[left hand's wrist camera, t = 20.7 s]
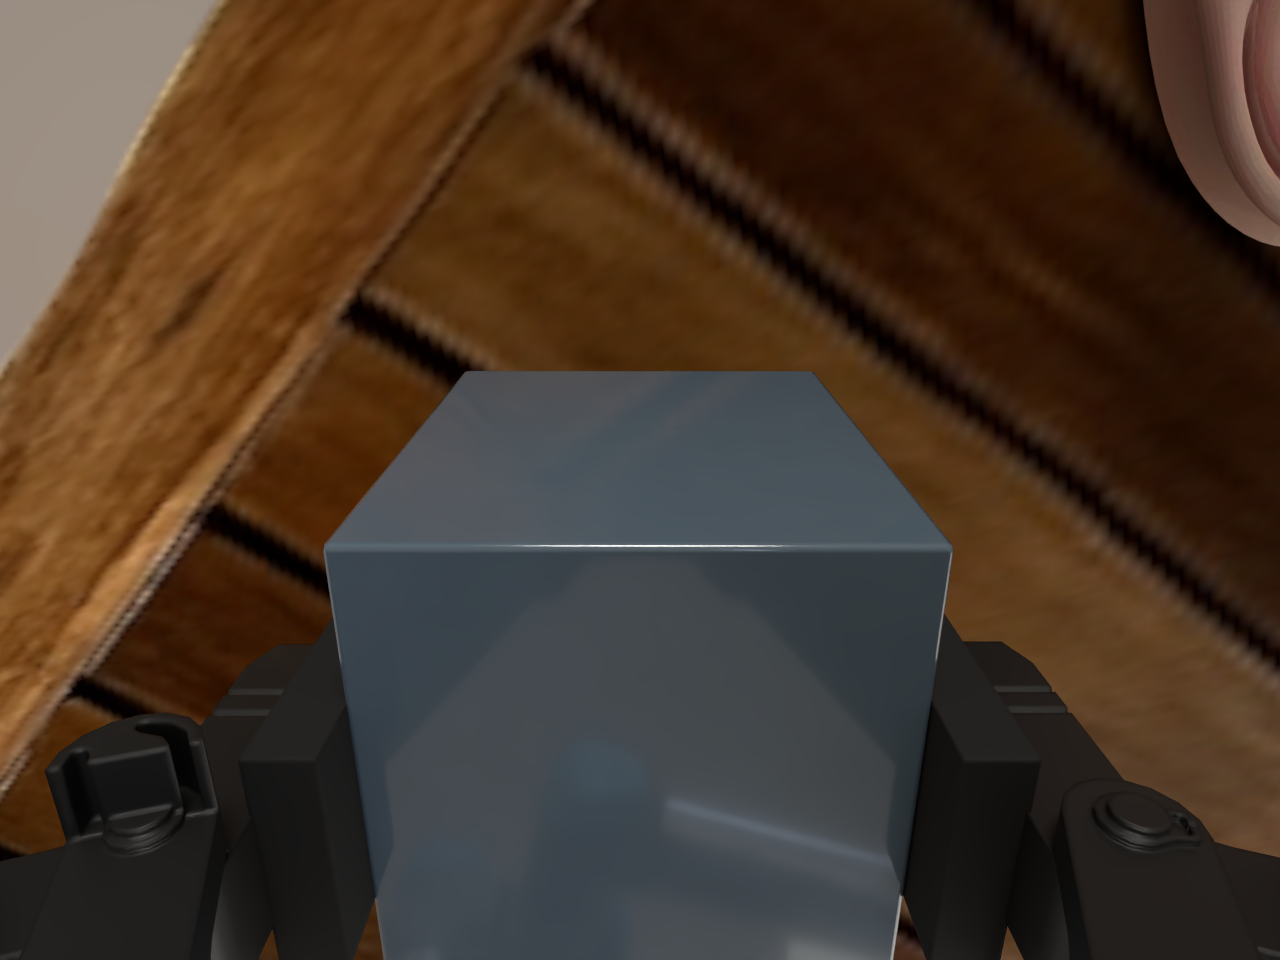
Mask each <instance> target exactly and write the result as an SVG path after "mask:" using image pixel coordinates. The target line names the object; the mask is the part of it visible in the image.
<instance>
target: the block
mask: <svg viewBox="0 0 1280 960" xmlns="http://www.w3.org/2000/svg"><path fill="white" fill-rule="evenodd" d="M323 552H324V559H325V565H326V572H327V579H328V586H329V592H330V599H331V606H332V613H333V619H334V626H335V633H336V640H337V646H338V653H339V660H340V667H341V673H342V680H343V687H344V694H345V700H346V706H347V713H348V719H349V726H350V733H351V740H352V746H353V753H354V760H355V766H356V773H357V780H358V787H359V793H360V800H361V807H362V814H363V820H364V827H365V834H366V841H367V847H368V854H369V861H370V868H371V874H372V881H373V888H374V894H375V903H376V910H377V917H378V923H379V930H380V937H381V944H382V950H383V957H384V960H893V957H894V950H895V943H896V936H897V930H898V923H899V916H900V909H901V902H902V896H903V889H904V882H905V875H906V869H907V862H908V855H909V848H910V842H911V835H912V828H913V821H914V814H915V808H916V801H917V794H918V787H919V781H920V774H921V767H922V760H923V753H924V747H925V740H926V733H927V726H928V720H929V713H930V706H931V699H932V693H933V686H934V679H935V672H936V665H937V659H938V652H939V645H940V638H941V632H942V625H943V618H944V611H945V604H946V598H947V591H948V584H949V577H950V571H951V564H952V557H953V546H952V544H951V543H950V541H949V540H948V539H947V538H946V536H945V535H944V534H943V533H942V531H941V530H940V529H939V528H938V527H937V525H936V524H935V523H934V522H933V520H932V519H931V518H930V517H929V515H928V514H927V513H926V512H925V510H924V509H923V508H922V507H921V505H920V504H919V503H918V502H917V500H916V499H915V498H914V497H913V495H912V494H911V493H910V492H909V490H908V489H907V488H906V487H905V486H904V484H903V483H902V482H901V481H900V479H899V478H898V477H897V476H896V474H895V473H894V472H893V471H892V469H891V468H890V467H889V466H888V464H887V463H886V462H885V461H884V459H883V458H882V457H881V456H880V454H879V453H878V452H877V451H876V449H875V448H874V447H873V446H872V445H871V443H870V442H869V441H868V440H867V438H866V437H865V436H864V435H863V433H862V432H861V431H860V430H859V428H858V427H857V426H856V425H855V423H854V422H853V421H852V420H851V418H850V417H849V416H848V415H847V413H846V412H845V411H844V410H843V409H842V407H841V406H840V405H839V404H838V402H837V401H836V400H835V399H834V397H833V396H832V395H831V394H830V392H829V391H828V390H827V389H826V387H825V386H824V385H823V384H822V382H821V381H820V380H819V379H818V377H817V376H816V375H815V374H814V373H813V372H811V371H467V372H465V373H464V374H463V375H462V377H461V378H460V379H459V380H458V382H457V383H456V384H455V385H454V386H453V388H452V389H451V390H450V391H449V393H448V394H447V395H446V396H445V397H444V399H443V400H442V401H441V402H440V404H439V405H438V406H437V407H436V408H435V410H434V411H433V412H432V413H431V415H430V416H429V417H428V418H427V419H426V421H425V422H424V423H423V424H422V426H421V427H420V428H419V429H418V431H417V432H416V433H415V434H414V435H413V437H412V438H411V439H410V440H409V442H408V443H407V444H406V445H405V446H404V448H403V449H402V450H401V451H400V453H399V454H398V455H397V456H396V457H395V459H394V460H393V461H392V462H391V464H390V465H389V466H388V467H387V468H386V470H385V471H384V472H383V473H382V475H381V476H380V477H379V478H378V479H377V481H376V482H375V483H374V484H373V486H372V487H371V488H370V489H369V490H368V492H367V493H366V494H365V495H364V497H363V498H362V499H361V500H360V502H359V503H358V504H357V505H356V506H355V508H354V509H353V510H352V511H351V513H350V514H349V515H348V516H347V517H346V519H345V520H344V521H343V522H342V524H341V525H340V526H339V527H338V528H337V530H336V531H335V532H334V533H333V535H332V536H331V537H330V538H329V539H328V541H327V542H326V543H325V545H324V548H323Z"/></svg>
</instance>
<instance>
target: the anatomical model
mask: <svg viewBox="0 0 1280 960" xmlns="http://www.w3.org/2000/svg"><path fill="white" fill-rule="evenodd" d="M1143 5H1144V14H1145V21H1146V29H1147V37H1148V45H1149V52H1150V58H1151V64H1152V69H1153V75H1154V80H1155V86H1156V90H1157V94H1158V98H1159V101H1160V105H1161V109H1162V113H1163V117H1164V120H1165V124H1166V127H1167V129H1168V132H1169V135H1170V137H1171V140H1172V142H1173V145H1174V148H1175V150H1176V153H1177V155H1178V158H1179V160H1180V161H1181V163H1182V165H1183V167H1184V169H1185V170H1186V172H1187V174H1188V176H1189V177H1190V179H1191V181H1192V183H1193V184H1194V185H1195V187H1196V188H1197V190H1198V191H1199V192H1200V194H1201V195H1202V197H1203V198H1204V199H1205V200H1206V201H1207V202H1208V204H1209V205H1210V206H1211V207H1212V208H1213V209H1214V210H1215V211H1216V212H1217V213H1218V214H1219V215H1220V216H1221V217H1222V218H1223V219H1224V220H1225V221H1226V222H1228V223H1229V224H1230V225H1232V226H1233V227H1235V228H1236V229H1238V230H1239V231H1240V232H1242V233H1243V234H1245V235H1247V236H1249V237H1251V238H1254V239H1256V240H1258V241H1260V242H1263V243H1266V244H1270V245H1274V246H1279V247H1280V0H1143Z"/></svg>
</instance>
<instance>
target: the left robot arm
mask: <svg viewBox="0 0 1280 960" xmlns="http://www.w3.org/2000/svg"><path fill="white" fill-rule="evenodd" d="M228 691H229V692H228V695H224V696H223V698H222V699H221V700H220V702H219V703H218V704H217V706H216V707H215V708H214V709H213V714H212V716H208V717H207V718H206V720H205V721H204V722H203V724H202V725H201V726H200V725H198V724H197V723H196V722H195V721H193V720H192V719H191V718H190V717H186V716H182V715H177V714H172V713H157V714H143V715H138V716H134V717H130V718H126V719H123V720H119V721H115V722H111V723H109V724H107V725H105V726H103V727H100V728H98V729H96V730H94V731H92V732H89V733H87V734H85V735H83V736H81V737H80V738H79V739H77V740H76V741H74V742H73V743H72V744H70V745H69V746H67V747H66V748H65V749H63V750H62V751H60V752H59V753H58V755H57V756H56V757H55V758H54V760H53V761H52V762H51V763H50V765H49V766H48V767H47V768H46V770H45V773H46V777H47V780H48V783H49V786H50V789H51V793H52V796H53V799H54V802H55V806H56V809H57V812H58V815H59V818H60V822H61V825H62V828H63V831H64V835H65V838H66V844H65V846H62V847H58V848H55V849H52V850H48V851H44V852H39V853H35V854H31V855H26V856H22V857H17V858H13V859H8V860H4V861H0V960H258V958H259V956H260V954H261V952H262V949H263V947H264V945H265V943H266V941H267V939H268V937H269V935H270V933H271V931H272V928H273V933H274V937H275V942H276V947H277V952H278V956H279V960H353V959H354V956H355V953H356V950H357V947H358V945H359V942H360V939H361V936H362V933H363V931H364V928H365V925H366V922H367V919H368V917H369V914H370V911H371V908H372V905H373V903H374V900H375V894H374V888H373V881H372V874H371V868H370V861H369V854H368V847H367V841H366V834H365V827H364V820H363V814H362V807H361V800H360V793H359V787H358V780H357V773H356V766H355V760H354V753H353V746H352V740H351V733H350V726H349V719H348V713H347V706H346V700H345V694H344V687H343V680H342V673H341V667H340V660H339V653H338V646H337V640H336V633H335V626H334V619H333V618H332V619H331V621H330V622H329V624H328V625H327V627H326V628H325V630H324V631H323V633H322V634H321V636H320V637H319V639H318V640H317V642H316V643H315V644H279V645H277V646H276V647H274V648H273V649H271V650H270V651H268V652H267V653H265V654H264V655H262V656H261V657H259V658H258V659H256V660H255V661H253V662H252V663H250V664H249V665H247V667H246V668H245V669H244V671H243V672H242V673H241V674H240V676H239V677H238V678H237V680H236V681H235V682H234V684H233V685H232V686H231V687H230V689H229V690H228ZM903 896H904V898H905V901H906V904H907V907H908V910H909V912H910V915H911V918H912V921H913V924H914V926H915V929H916V932H917V935H918V938H919V940H920V943H921V946H922V949H923V952H924V954H925V957H926V960H1000V959H1001V954H1002V949H1003V944H1004V939H1005V935H1006V930H1007V925H1008V928H1009V930H1010V932H1011V934H1012V936H1013V938H1014V940H1015V942H1016V944H1017V946H1018V948H1019V951H1020V953H1021V955H1022V957H1023V959H1024V960H1280V858H1279V857H1274V856H1270V855H1265V854H1261V853H1256V852H1252V851H1248V850H1243V849H1239V848H1234V847H1230V846H1227V845H1223V844H1220V843H1217V842H1214V840H1213V838H1212V837H1211V835H1210V834H1209V832H1208V831H1207V829H1206V828H1205V827H1204V825H1203V824H1202V822H1201V821H1200V820H1199V819H1198V818H1197V817H1196V816H1194V815H1193V814H1192V813H1191V812H1189V811H1188V810H1187V809H1186V808H1184V807H1183V806H1182V805H1181V804H1180V803H1178V802H1177V801H1175V800H1173V799H1171V798H1169V797H1167V796H1165V795H1163V794H1161V793H1159V792H1157V791H1155V790H1153V789H1151V788H1148V787H1145V786H1142V785H1138V784H1135V783H1132V782H1128V781H1125V780H1123V778H1122V777H1121V776H1120V775H1119V773H1118V772H1117V771H1116V769H1115V768H1114V767H1113V766H1112V764H1111V763H1110V762H1109V760H1108V759H1107V758H1106V757H1105V755H1104V754H1103V753H1102V751H1101V750H1100V749H1099V748H1098V746H1097V745H1096V744H1095V742H1094V741H1093V740H1092V739H1091V737H1090V736H1089V735H1088V733H1087V732H1086V731H1085V730H1084V728H1083V727H1082V726H1081V724H1080V723H1079V722H1078V721H1077V719H1076V718H1075V717H1074V715H1073V714H1072V713H1068V711H1067V706H1066V705H1065V704H1064V703H1063V701H1062V700H1061V699H1060V697H1059V696H1058V695H1057V694H1056V692H1052V687H1051V686H1050V685H1049V683H1048V682H1047V681H1046V679H1045V678H1044V677H1043V676H1042V674H1041V673H1040V672H1039V670H1038V669H1037V668H1036V667H1035V665H1034V664H1033V663H1032V662H1031V661H1029V660H1028V659H1026V658H1025V657H1023V656H1022V655H1020V654H1019V653H1017V652H1016V651H1014V650H1013V649H1011V648H1010V647H1008V646H1007V645H1005V644H1004V643H1002V642H963V641H962V640H961V638H960V637H959V635H958V634H957V632H956V631H955V629H954V628H953V626H952V625H951V623H950V622H949V620H948V619H947V617H946V616H945V614H944V618H943V625H942V632H941V638H940V645H939V652H938V659H937V665H936V672H935V679H934V686H933V693H932V699H931V706H930V713H929V720H928V726H927V733H926V740H925V747H924V753H923V760H922V767H921V774H920V781H919V787H918V794H917V801H916V808H915V814H914V821H913V828H912V835H911V842H910V848H909V855H908V862H907V869H906V875H905V882H904V889H903Z"/></svg>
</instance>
